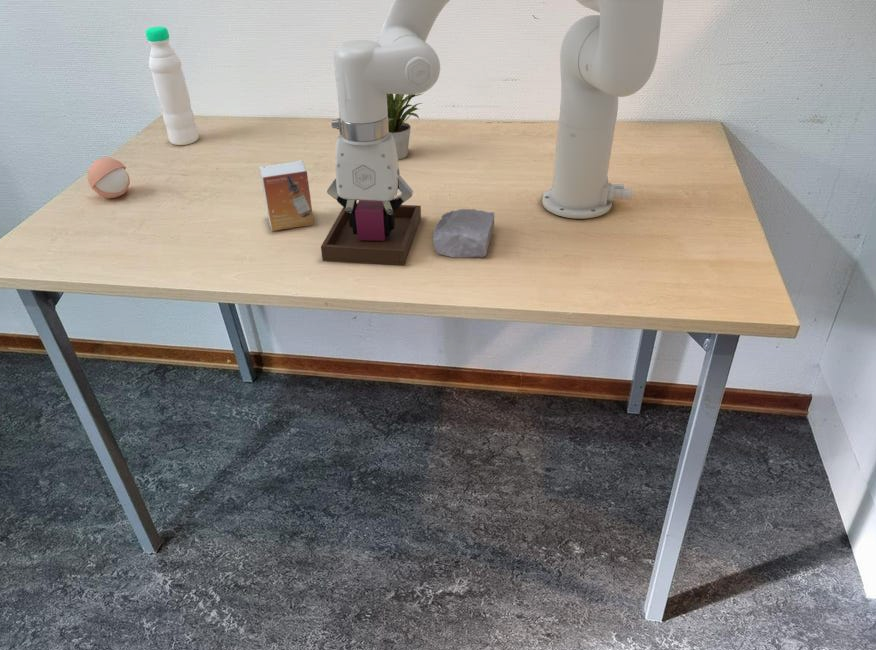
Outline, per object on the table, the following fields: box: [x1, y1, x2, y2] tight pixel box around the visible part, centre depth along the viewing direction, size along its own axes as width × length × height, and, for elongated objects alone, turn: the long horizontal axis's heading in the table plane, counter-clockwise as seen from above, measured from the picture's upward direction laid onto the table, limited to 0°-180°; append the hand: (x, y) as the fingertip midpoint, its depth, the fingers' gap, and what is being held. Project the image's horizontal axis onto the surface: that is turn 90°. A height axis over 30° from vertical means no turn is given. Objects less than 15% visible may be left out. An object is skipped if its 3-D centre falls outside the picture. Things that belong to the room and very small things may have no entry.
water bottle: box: [145, 26, 200, 146], centre depth 152 cm, size 7×7×25 cm
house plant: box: [387, 92, 425, 161], centre depth 140 cm, size 14×14×16 cm
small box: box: [258, 159, 315, 232], centre depth 120 cm, size 8×6×10 cm
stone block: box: [432, 208, 495, 259], centre depth 114 cm, size 12×5×10 cm
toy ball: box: [87, 157, 131, 199], centre depth 134 cm, size 8×8×8 cm
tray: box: [320, 202, 422, 267], centre depth 116 cm, size 14×17×3 cm
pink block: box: [355, 200, 386, 241], centre depth 115 cm, size 5×5×6 cm
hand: (372, 230), depth 115 cm, fingers closed on pink block, 5 cm apart
